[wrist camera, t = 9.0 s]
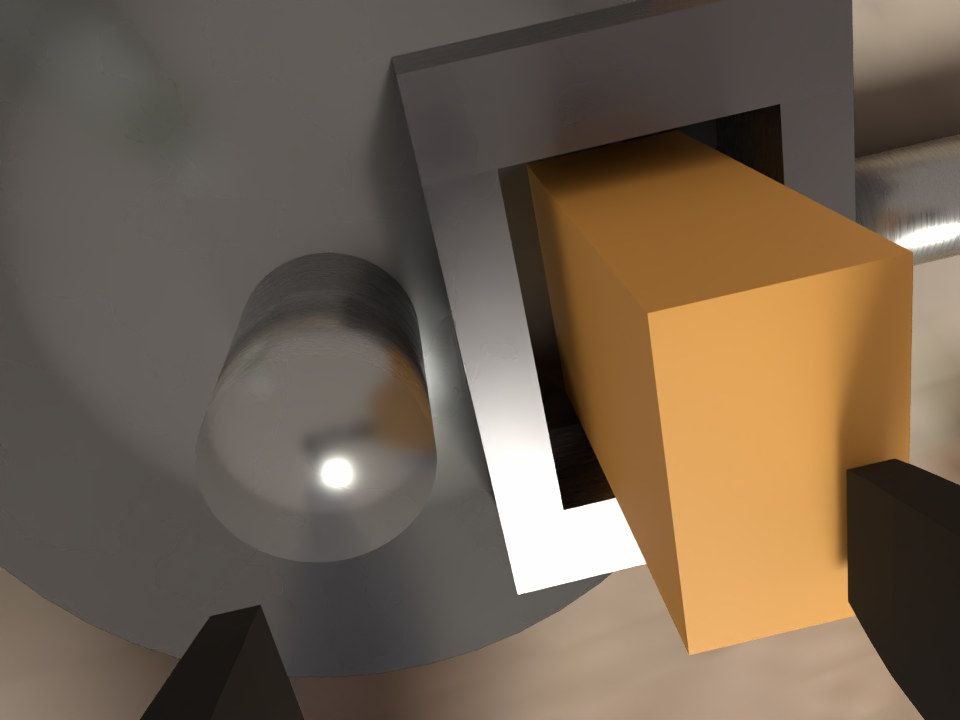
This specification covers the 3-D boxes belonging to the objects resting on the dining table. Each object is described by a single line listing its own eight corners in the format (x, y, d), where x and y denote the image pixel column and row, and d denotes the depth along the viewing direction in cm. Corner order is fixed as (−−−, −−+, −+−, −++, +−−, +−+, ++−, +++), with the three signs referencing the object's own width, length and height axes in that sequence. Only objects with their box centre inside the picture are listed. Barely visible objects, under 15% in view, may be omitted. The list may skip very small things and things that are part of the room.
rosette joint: (1078, 478, 23) (1300, 638, 17) (83, 719, 22) (-10, 962, 17) (1174, -376, 15) (1625, -570, 10) (-337, -43, 15) (-757, -51, 9)
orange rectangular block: (700, 360, 19) (906, 603, 12) (565, 390, 19) (689, 655, 12) (677, 130, 17) (913, 252, 10) (526, 163, 17) (647, 313, 9)
